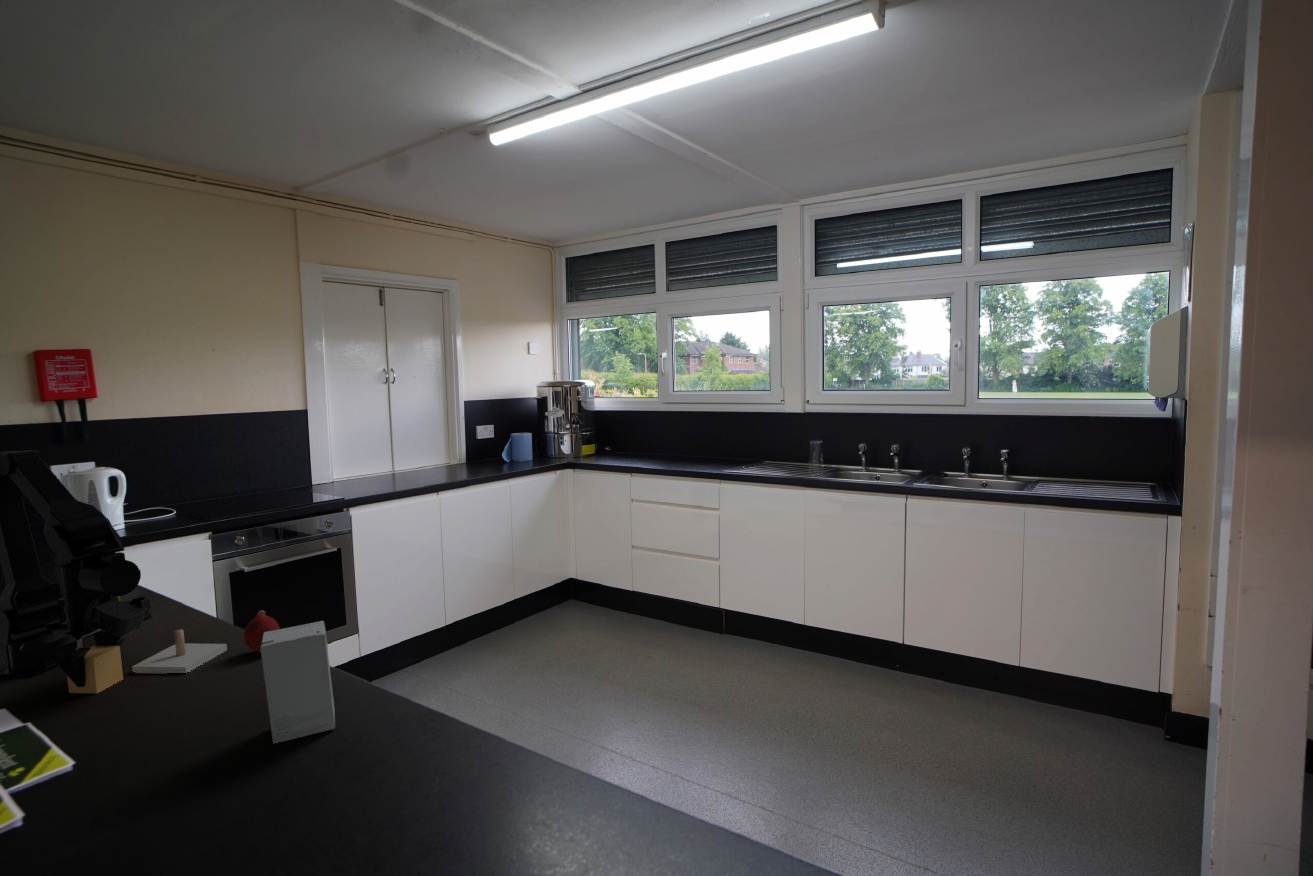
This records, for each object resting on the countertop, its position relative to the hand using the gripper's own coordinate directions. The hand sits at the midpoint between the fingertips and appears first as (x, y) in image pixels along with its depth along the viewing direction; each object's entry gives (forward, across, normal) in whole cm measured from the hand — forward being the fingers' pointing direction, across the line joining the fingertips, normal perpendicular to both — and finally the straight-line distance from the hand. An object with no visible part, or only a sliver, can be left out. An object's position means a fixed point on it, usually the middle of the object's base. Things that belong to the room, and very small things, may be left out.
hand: (95, 679), depth 114 cm
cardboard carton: (+1, 0, 0) cm, 1 cm away
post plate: (+1, +10, -7) cm, 12 cm away
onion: (+1, +14, -20) cm, 24 cm away
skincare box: (+1, -12, -44) cm, 46 cm away
